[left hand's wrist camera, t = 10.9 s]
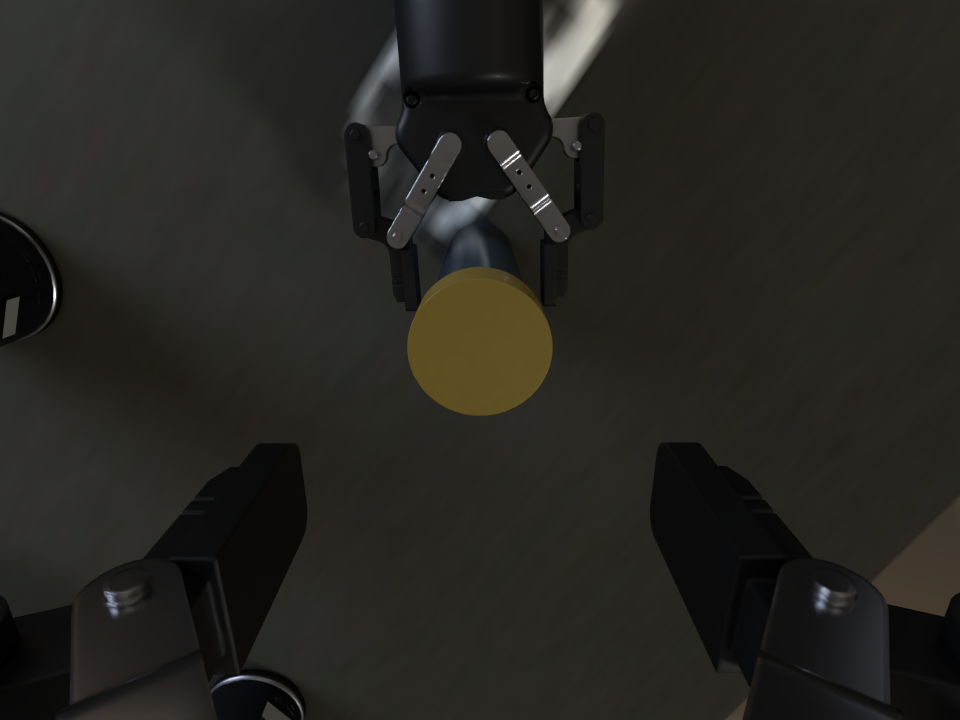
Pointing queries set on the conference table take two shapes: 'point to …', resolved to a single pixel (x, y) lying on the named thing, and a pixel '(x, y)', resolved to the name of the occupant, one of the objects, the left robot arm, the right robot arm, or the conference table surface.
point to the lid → (480, 342)
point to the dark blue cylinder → (479, 251)
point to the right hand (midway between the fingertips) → (481, 305)
